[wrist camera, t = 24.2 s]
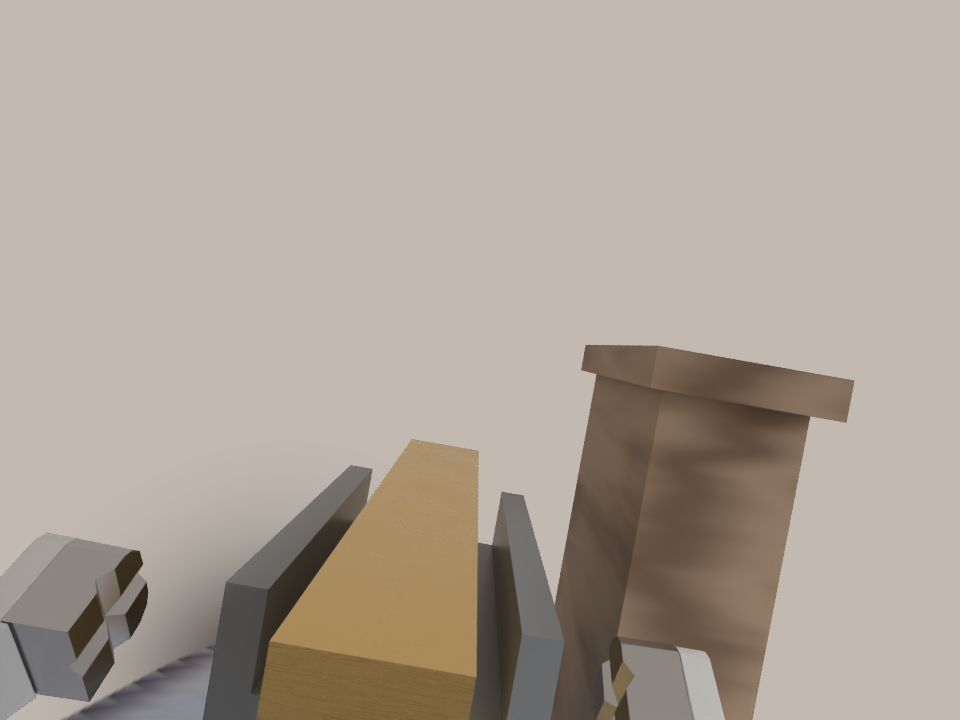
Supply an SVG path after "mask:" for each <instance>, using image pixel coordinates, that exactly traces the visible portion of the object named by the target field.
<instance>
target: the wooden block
mask: <svg viewBox="0 0 960 720" xmlns="http://www.w3.org/2000/svg"><path fill="white" fill-rule="evenodd" d="M477 560H478V451H476V450H470V449H465V448H459V447H453V446H448V445H442V444H436V443H430V442H424V441H419V440H414V439H412V440H411V441H410V443H409V444H408V446H407V447H406V448H405V450H404V451H403V453H402V454H401V456H400V457H399V458H398V460H397V461H396V463H395V464H394V465H393V467H392V468H391V470H390V471H389V472H388V474H387V476H386V477H385V478H384V480H383V481H382V482H381V484H380V485H379V487H378V488H377V489H376V491H375V492H374V494H373V495H372V497H371V498H370V499H369V501H368V502H367V504H366V505H365V506H364V508H363V509H362V511H361V512H360V514H359V515H358V516H357V518H356V519H355V521H354V522H353V523H352V525H351V526H350V528H349V529H348V531H347V532H346V533H345V535H344V536H343V538H342V539H341V540H340V542H339V543H338V545H337V546H336V548H335V549H334V550H333V552H332V553H331V555H330V556H329V557H328V559H327V560H326V562H325V563H324V565H323V566H322V567H321V569H320V570H319V572H318V573H317V574H316V576H315V577H314V579H313V580H312V582H311V583H310V584H309V586H308V587H307V589H306V590H305V591H304V593H303V594H302V596H301V597H300V599H299V600H298V601H297V603H296V604H295V606H294V607H293V608H292V610H291V611H290V613H289V614H288V616H287V617H286V618H285V620H284V621H283V623H282V624H281V625H280V627H279V628H278V630H277V631H276V633H275V634H274V635H273V637H272V638H271V640H270V641H269V647H268V653H267V659H266V664H265V670H264V676H263V682H262V688H261V694H260V700H259V706H258V711H257V717H256V720H469V716H470V711H471V705H472V699H473V694H474V688H475V683H476V677H477Z"/></svg>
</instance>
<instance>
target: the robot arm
mask: <svg viewBox="0 0 960 720" xmlns="http://www.w3.org/2000/svg"><path fill="white" fill-rule="evenodd" d="M142 565H143V562H142V558H141V554H140V551H137V550H132V549H126V548H121V547H116V546H111V545H106V544H101V543H96V542H91V541H86V540H81V539H78V538H72V537H67V536H61V535H56V534H50V533H46V534H45V535H43V536H41V537H40V538H38V539H36V540H35V541H34V542H33V543H32V544H31V545H30V546H29V547H28V548H27V549H26V550H25V551H24V552H23V553H22V554H21V556H20V557H19V558H18V559H17V560H16V561H15V562H14V563H13V564H12V565H11V566H10V567H9V568H8V570H7V571H6V572H5V573H4V574H3V575H2V576H1V577H0V720H6V719H7V718H8V717H10V716H11V715H13V714H14V713H15V712H17V711H18V710H19V709H21V708H22V707H24V706H25V705H26V704H28V703H29V702H30V701H32V700H33V699H34V698H35V697H36V695H35V694H40V695H47V696H53V697H60V698H67V699H73V700H80V701H87V702H90V700H91V698H92V697H93V696H94V694H95V692H96V691H97V689H98V688H99V686H100V685H101V683H102V682H103V680H104V678H105V677H106V675H107V674H108V672H109V671H110V669H111V668H112V666H113V665H114V653H113V649H114V648H115V647H117V646H119V645H120V644H122V643H123V642H125V641H127V640H128V639H130V638H131V636H132V635H133V633H134V631H135V630H136V628H137V627H138V625H139V623H140V621H141V618H142V616H143V613H144V611H145V608H146V605H147V598H148V588H147V582H146V581H145V580H144V579H143V578H142V577H141V576H140V575H139V574H138V571H139V570H140V568H141V567H142ZM609 658H610V660H608V661H606V662H604V663H602V665H601V667H600V670H599V673H598V675H597V680H596V686H595V695H594V712H595V720H725V718H724V714H723V710H722V706H721V702H720V698H719V694H718V690H717V686H716V682H715V678H714V674H713V670H712V666H711V662H710V658H709V657H708V655H707V654H706V652H704V651H701V650H694V649H688V648H682V647H675V646H673V645H670V644H664V643H658V642H652V641H646V640H640V639H633V638H627V637H621V636H616V637H615V638H613V640H612V642H611V644H610V646H609Z"/></svg>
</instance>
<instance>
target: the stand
mask: <svg viewBox="0 0 960 720" xmlns="http://www.w3.org/2000/svg"><path fill="white" fill-rule="evenodd" d="M581 370H583V371H587V372H591V373H595V374H597V375H596V381H595V387H594V392H593V398H592V403H591V409H590V414H589V419H588V425H587V431H586V436H585V441H584V447H583V452H582V458H581V464H580V469H579V474H578V480H577V485H576V491H575V497H574V502H573V508H572V513H571V519H570V524H569V530H568V535H567V540H566V546H565V551H564V557H563V562H562V568H561V573H560V579H559V584H558V590H557V596H556V601H555V609H556V613H557V616H558V620H559V623H560V627H561V630H562V634H563V638H564V641H565V642H564V647H563V653H562V658H561V664H560V669H559V675H558V680H557V686H556V691H555V697H554V702H553V708H552V713H551V719H550V720H595V712H594V695H595V686H596V680H597V675H598V673H599V670H600V667H601V665H602V663H604V662H606V661H608V660H610V658H609V646H610V644H611V642H612V640H613V638H615V637H616V636H621V637H627V638H633V639H640V640H646V641H652V642H658V643H664V644H670V645H673V646H675V647H682V648H688V649H694V650H701V651H704V652H706V654H707V655H708V657H709V658H710V662H711V666H712V670H713V674H714V678H715V682H716V686H717V690H718V694H719V698H720V702H721V706H722V710H723V714H724V718H725V720H752V718H753V713H754V708H755V702H756V697H757V692H758V687H759V681H760V676H761V671H762V665H763V661H764V655H765V650H766V645H767V640H768V634H769V629H770V624H771V619H772V614H773V608H774V603H775V598H776V592H777V587H778V582H779V577H780V571H781V566H782V561H783V556H784V551H785V545H786V540H787V535H788V530H789V525H790V519H791V514H792V509H793V503H794V498H795V493H796V487H797V482H798V477H799V472H800V467H801V461H802V457H803V451H804V445H805V441H806V436H807V430H808V425H809V420H810V416H812V417H817V418H823V419H829V420H834V421H840V422H847V416H848V411H849V406H850V401H851V396H852V390H853V385H854V380H847V379H842V378H837V377H831V376H825V375H819V374H814V373H809V372H803V371H797V370H792V369H786V368H780V367H774V366H769V365H763V364H757V363H752V362H746V361H741V360H735V359H729V358H724V357H718V356H712V355H707V354H701V353H695V352H690V351H684V350H679V349H673V348H667V347H662V346H623V345H622V346H621V345H586V347H585V352H584V358H583V363H582V369H581Z"/></svg>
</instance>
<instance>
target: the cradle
mask: <svg viewBox="0 0 960 720" xmlns="http://www.w3.org/2000/svg"><path fill="white" fill-rule="evenodd" d="M371 474H372V469H369V468H364V467H358V466H353V465H351V466H350V467H348V468H347V469H346V470H345V471H344V472H343V473H342V474H341V475H340V476H339V477H338V478H337V479H336V480H334V481H333V482H332V483H331V484H330V485H329V486H328V487H327V488H326V489H325V490H324V491H323V492H322V493H321V494H320V495H319V496H318V497H316V498H315V499H314V500H313V501H312V502H311V503H310V504H309V505H308V506H307V507H306V508H305V509H304V510H303V511H301V512H300V513H299V514H298V515H297V516H296V517H295V518H294V519H293V520H292V521H291V522H290V523H289V524H288V525H287V526H285V527H284V528H283V529H282V530H281V531H280V532H279V533H278V534H277V535H276V536H275V537H274V538H273V539H272V540H271V541H269V542H268V543H267V544H266V545H265V546H264V547H263V548H262V549H261V550H260V551H259V552H258V553H257V554H255V555H254V556H253V557H252V558H251V559H250V560H249V561H248V562H247V563H246V564H245V565H244V566H243V567H242V568H241V569H239V570H238V571H237V572H236V573H235V574H234V575H233V576H232V577H231V578H230V579H229V580H228V581H227V582H226V585H225V592H224V597H223V603H222V609H221V615H220V621H219V627H218V633H217V639H216V645H215V651H214V657H213V662H212V668H211V674H210V680H209V686H208V692H207V698H206V704H205V710H204V716H203V720H256V717H257V711H258V706H259V700H260V694H261V688H262V682H263V676H264V670H265V664H266V659H267V653H268V647H269V641H270V640H271V638H272V637H273V635H274V634H275V633H276V631H277V630H278V628H279V627H280V625H281V624H282V623H283V621H284V620H285V618H286V617H287V616H288V614H289V613H290V611H291V610H292V608H293V607H294V606H295V604H296V603H297V601H298V600H299V599H300V597H301V596H302V594H303V593H304V591H305V590H306V589H307V587H308V586H309V584H310V583H311V582H312V580H313V579H314V577H315V576H316V574H317V573H318V572H319V570H320V569H321V567H322V566H323V565H324V563H325V562H326V560H327V559H328V557H329V556H330V555H331V553H332V552H333V550H334V549H335V548H336V546H337V545H338V543H339V542H340V540H341V539H342V538H343V536H344V535H345V533H346V532H347V531H348V529H349V528H350V526H351V525H352V523H353V522H354V521H355V519H356V518H357V516H358V515H359V514H360V512H361V511H362V509H363V508H364V506H365V505H366V503H367V497H368V492H369V486H370V480H371ZM564 642H565V641H564V638H563V634H562V630H561V627H560V623H559V620H558V616H557V613H556V609H555V606H554V603H553V599H552V595H551V592H550V588H549V585H548V581H547V578H546V574H545V570H544V567H543V564H542V560H541V556H540V553H539V549H538V546H537V542H536V539H535V535H534V532H533V528H532V525H531V521H530V517H529V514H528V510H527V507H526V503H525V500H524V496H523V495H517V494H511V493H506V492H502V494H501V499H500V505H499V510H498V516H497V521H496V527H495V533H494V538H493V544H492V545H488V544H482V543H478V560H477V677H476V683H475V688H474V694H473V699H472V705H471V711H470V716H469V720H550V719H551V713H552V708H553V702H554V697H555V691H556V686H557V680H558V675H559V669H560V664H561V658H562V653H563V647H564Z"/></svg>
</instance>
